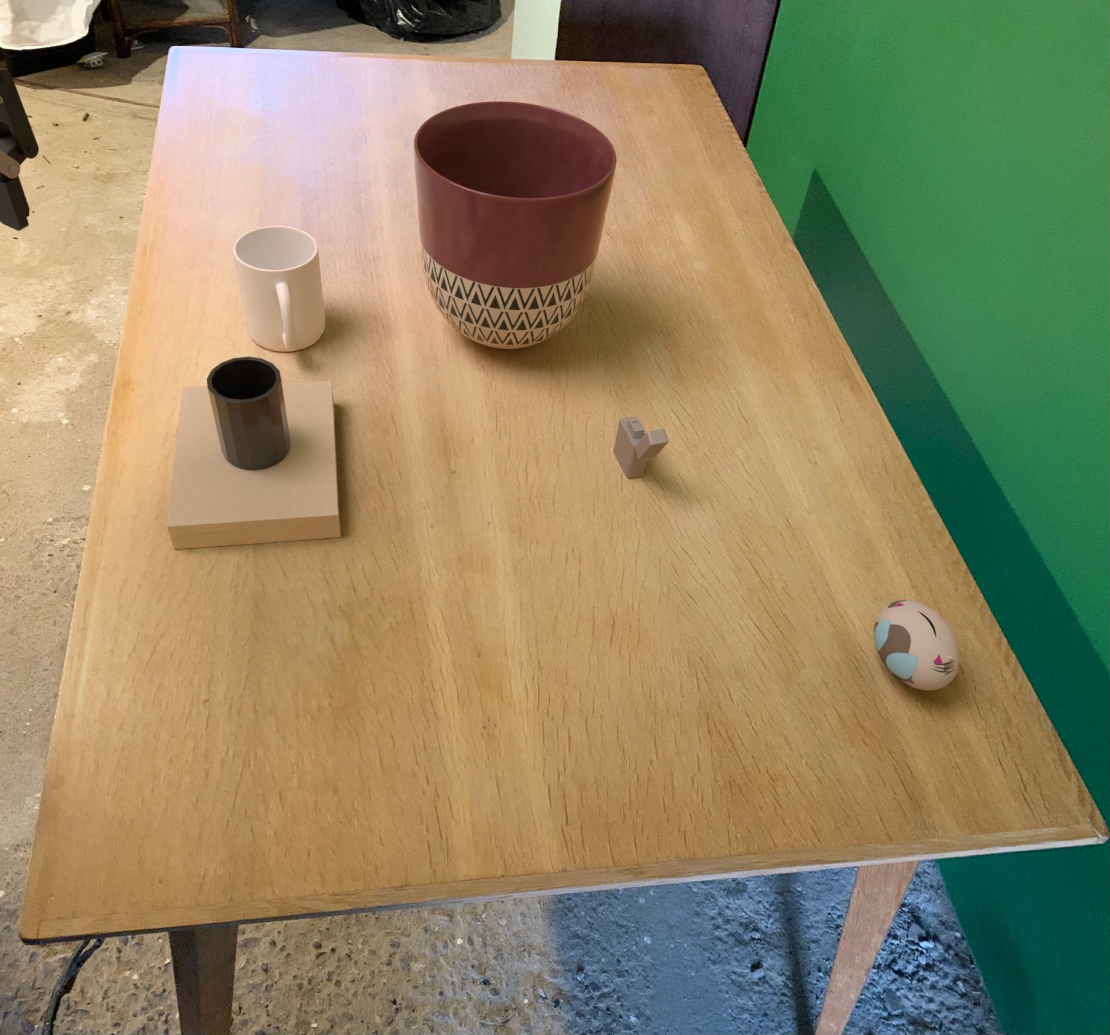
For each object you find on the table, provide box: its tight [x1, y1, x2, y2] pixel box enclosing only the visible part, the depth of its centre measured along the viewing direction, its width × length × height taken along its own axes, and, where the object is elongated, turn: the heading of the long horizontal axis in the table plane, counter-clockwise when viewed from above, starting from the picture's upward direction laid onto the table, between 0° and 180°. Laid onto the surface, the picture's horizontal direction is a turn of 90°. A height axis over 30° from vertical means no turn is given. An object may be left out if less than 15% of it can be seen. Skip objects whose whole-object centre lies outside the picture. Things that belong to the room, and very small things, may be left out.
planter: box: [413, 100, 618, 350], centre depth 99 cm, size 20×20×21 cm
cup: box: [232, 225, 326, 353], centre depth 98 cm, size 8×12×10 cm
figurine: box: [873, 596, 961, 691], centre depth 78 cm, size 8×6×7 cm
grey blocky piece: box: [613, 415, 669, 480], centre depth 90 cm, size 7×2×8 cm, turn 18°
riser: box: [166, 380, 342, 550], centre depth 87 cm, size 18×14×3 cm
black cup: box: [206, 356, 291, 470], centre depth 83 cm, size 6×6×8 cm
